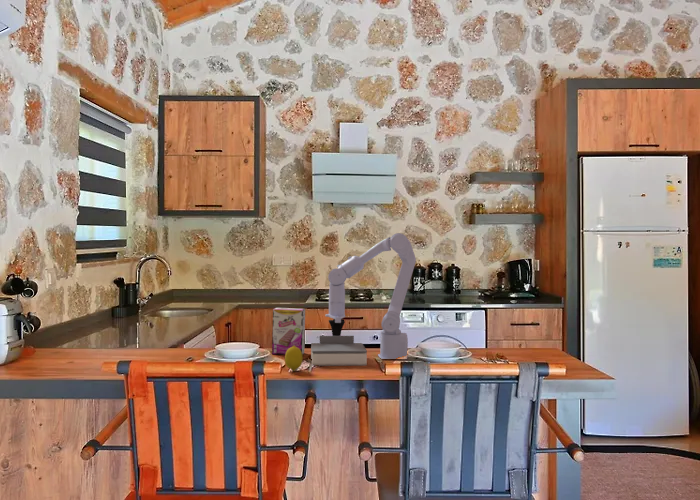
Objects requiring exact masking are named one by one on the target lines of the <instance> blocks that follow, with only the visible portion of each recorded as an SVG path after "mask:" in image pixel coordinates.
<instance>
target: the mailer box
mask: <svg viewBox="0 0 700 500" xmlns="http://www.w3.org/2000/svg"><path fill="white" fill-rule="evenodd" d="M367 355H368V352H367V353H312V347H311V346H310V360H311V359H312V361H311V365H312V364H313V365H319V366H318V367H340V366H343V367H345V366H350V367H351V366H352V367H353V366H355V367H356V366H358V367H361V366H363V367H364V366H368V364H367V361H368V358H367V357H368V356H367Z"/></svg>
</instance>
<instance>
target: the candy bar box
mask: <svg viewBox="0 0 700 500" xmlns="http://www.w3.org/2000/svg"><path fill="white" fill-rule="evenodd" d="M305 325H306V309H305V308H293V307H292V308H291V307H290V308H289V307H275V308H273V309H272V331H271V332H272V333H271V334H272V337H271V338H272V340H271V342H272V343H271V344H272V345H271V353H272V355H285V354H286V351H287V350H288V349H289V348H290V347H292V346H296V347H297V348H299V349H300V350H301V352H302V356H303V355H304V354H305V342H306V341H305V339H306V338H305V336H306V335H305V330H306V329H305V327H306V326H305Z"/></svg>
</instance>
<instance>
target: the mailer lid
mask: <svg viewBox="0 0 700 500" xmlns="http://www.w3.org/2000/svg"><path fill="white" fill-rule="evenodd" d="M354 338H355V337H354V335H341V336H332V335H319V342H311V343H310V345H311V346H310V348H311V347H312V353H367V354H368V351H367V349H366V347H365V345H364V344H363V343H362V342H355V339H354Z"/></svg>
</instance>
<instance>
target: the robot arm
mask: <svg viewBox="0 0 700 500" xmlns="http://www.w3.org/2000/svg"><path fill="white" fill-rule="evenodd" d="M412 246H413V245H412V243H411V241H410V240H409V239H408V237H407V236H406V235H405V233H404V234H403V233H401V232H398V233H397V232H396V233H394V234H392V235H391V236H389V237H387V238H385V239H382V240H381V241H379V242H377V243H375V244H374V245H373V246H372V247H371V248H369V249H368V250H366V251H365V252H364V253H362V254H361V255H359V256H358V255H353V256H351V255H350V256H348V257H347V260H346V261H344V262H342V263H341V264H338V265H337V264H336V267H337V268H332V270H331V271H329V273H328V276H327V277H328V281H329V289H328V313H326V314H325V315H324V316H325V317H327V318H330V319H328V323H329V325H330V330H331V334H332V335H331V336H342V331H343V327H344V325H345V320H344V318H346V314H345V313H346V312H345V311H346V308H345V307H346V289H345V282H346V281H347V279H350V278H352V277H353V276H355V275H356V274H358V273H359V272H361V271H362V270H363V269H364V267H365V264H366V263H368V262H370V260H372V259H374V258H375V257H377V256H378V255H379V254H382V253H384V252H390V251H392V250H393V251H394V252H395V253H397V255H398V257H399V259H400V260H401V262H402V263H401V267H400V269H399V272H398V276H397V279H396V283H395V286H394V288H393V292H392V296H391V299H390V303H389V305H388V309H387V312H386V313H385V314H384V316H383V317H382V320H381V328H382V330H380V347H379V348H380V350H379V351H380V353H378V354H377V356H378V357H379V359H380V358H381V359H396V358H398V357H402V356H406V355H407V351H408V347H409V344H408V343H409V341H408V334H407V333H406V332H402V330H400V325H401V318H400V316H401V313H402V310H403V305H404V302H405V298H406V295H407V292H408V289H409V286H410V282H411V278H412V275H413V272H414V269H415V265H416V262H417V258H416V255H415V252H414V249H413V247H412ZM407 356H408V355H407ZM381 359H380V360H381Z"/></svg>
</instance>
